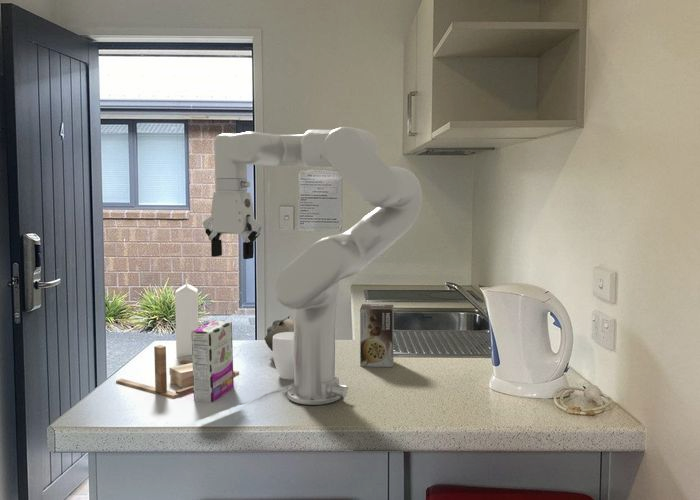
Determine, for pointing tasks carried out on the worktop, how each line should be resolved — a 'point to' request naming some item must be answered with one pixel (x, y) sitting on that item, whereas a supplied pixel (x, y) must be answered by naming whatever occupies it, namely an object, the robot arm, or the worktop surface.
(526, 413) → the worktop surface
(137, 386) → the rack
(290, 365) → the mug
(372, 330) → the cookie box
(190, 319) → the milk
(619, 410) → the worktop surface
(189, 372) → the offcut top
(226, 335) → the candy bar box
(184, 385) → the offcut middle
